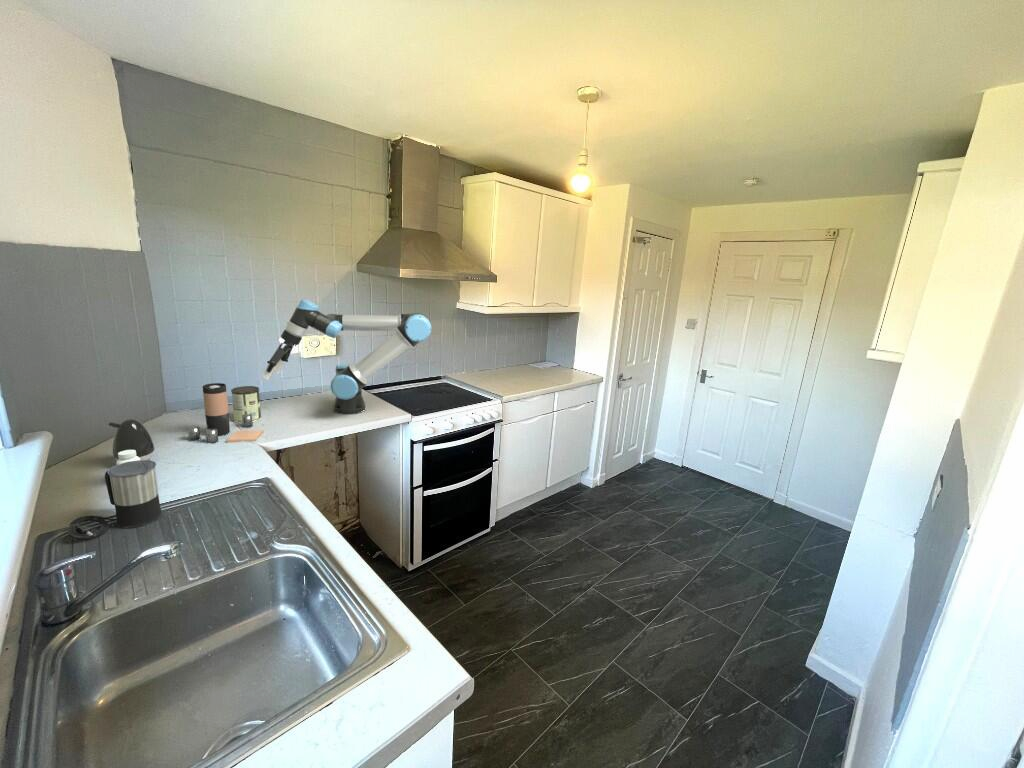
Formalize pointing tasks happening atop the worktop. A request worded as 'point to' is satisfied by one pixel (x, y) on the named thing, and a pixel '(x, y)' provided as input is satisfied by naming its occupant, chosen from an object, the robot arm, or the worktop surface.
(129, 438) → the pump dispenser
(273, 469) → the worktop surface
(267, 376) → the robot arm
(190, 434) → the spacer posts
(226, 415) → the travel mug
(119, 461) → the supplement bottle
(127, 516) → the milk frother
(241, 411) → the coffee can
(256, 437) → the terracotta tile
